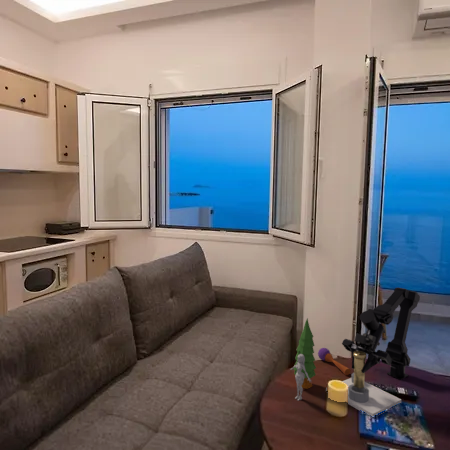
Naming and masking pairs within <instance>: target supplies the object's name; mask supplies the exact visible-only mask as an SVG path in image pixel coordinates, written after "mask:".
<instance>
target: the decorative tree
mask: <svg viewBox="0 0 450 450" xmlns="http://www.w3.org/2000/svg"><path fill="white" fill-rule="evenodd" d="M313 339H314V334H313V332H312V330H311V327H310V323H309V318H308V317H307V318H306V320H305V323H304V326H303V329H302V332H301V335H300V338H299V340H298V346H297V348H296V352H297V353H296V355H295V360H296V362H295V363H294V365H296V364H297V362H298V355H300V354H303V355H304V357H305V362H304V366H305V370H306V372H307V373H308V376H309V378H310V379H312V378H313V377H315V376H316V372H315V370H316V369H317V367H316V365H315V362H316V359H315V356H314V353H315V349H314V347H315V343H314V340H313ZM292 368H293V367H292ZM292 370H294V373H293V374H294V376H295V375H296V373H297V368H296V367H295V368H293V369H292ZM301 372H303V373H304V375H305V377H304V381H303V385H302V389H307V390H308V389H310V388H312V387H313V384H312V382H311V381H310V382H311V383H310V382H309V380H308V377H307V376H306V374H305V371H304V370H303V369H302V370H301ZM299 385H300V384H299Z"/></svg>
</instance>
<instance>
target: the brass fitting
mask: <svg viewBox="0 0 450 450" xmlns="http://www.w3.org/2000/svg"><path fill="white" fill-rule="evenodd" d="M353 356H354V369H353V373H354V386H355V387H357V388H364V382H366V381H365V380H366V379H365V377H366V374H365V373H366V372H365V373H362V370H363V367H364V365H365V363H366V360H367V354H366V353H364V352H361V351H355V352H353Z"/></svg>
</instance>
